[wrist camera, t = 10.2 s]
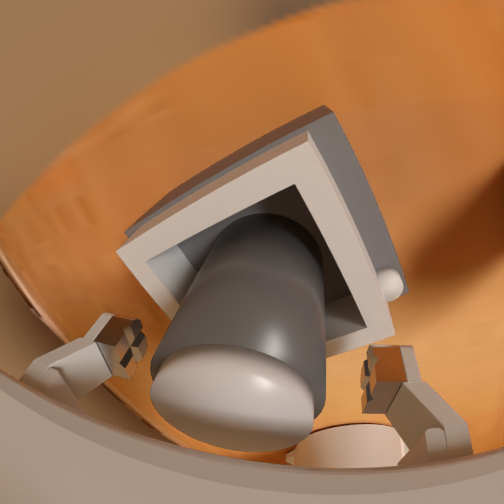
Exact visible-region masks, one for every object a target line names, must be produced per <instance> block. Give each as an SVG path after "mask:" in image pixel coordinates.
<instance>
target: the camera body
mask: <svg viewBox="0 0 504 504" xmlns="http://www.w3.org/2000/svg"><path fill="white" fill-rule="evenodd" d="M257 213H270V214H277V215H281V216H284V217H287V218H290V219H292V220H294V221H296V222H297V223H299V224H300V225H302V226H303V227H304V228H305V229H307V230H308V231H309V232H310V234H311V235H312V236H313V237H314V239H315V240H316V242H317V243H318V246H319V248H320V251H321V254H322V261H323V277H324V299H325V331H326V358H327V357H331V356H334V355H337V354H340V353H344V352H347V351H350V350H353V349H356V348H359V347H362V346H365V345H368V344H371V343H374V342H377V341H379V340H382V339H385V338H388V337H390V336H393V335H396V334H395V330H394V326H393V323H392V319H391V315H390V311H389V307H388V304H387V302H390V301H393V300H395V299H397V298H398V297H399V296H401V295H404V294H406V293H409V290H408V287H407V283H406V280H405V277H404V274H403V271H402V268H401V265H400V262H399V259H398V256H397V254H396V251H395V248H394V245H393V243H392V240H391V237H390V235H389V232H388V229H387V227H386V224H385V222H384V219H383V217H382V214H381V212H380V209H379V207H378V204H377V202H376V199H375V197H374V195H373V192H372V190H371V188H370V186H369V183H368V181H367V179H366V177H365V174H364V172H363V170H362V168H361V166H360V164H359V161H358V159H357V157H356V155H355V153H354V151H353V149H352V147H351V145H350V143H349V141H348V139H347V137H346V135H345V133H344V131H343V129H342V127H341V125H340V123H339V122H338V120H337V118H336V116H335V114H334V112H333V111H331V110H330V109H329V108H327V107H326V106H325V105H323V106H321V107H319V108H317V109H315V110H313V111H310V112H308V113H306V114H304V115H302V116H300V117H298V118H297V119H295V120H293V121H291V122H289V123H287V124H285V125H283V126H281V127H279V128H277V129H275V130H273V131H272V132H270V133H268V134H266V135H264V136H262V137H261V138H259V139H257V140H255V141H253V142H251V143H250V144H248V145H246V146H244V147H243V148H241V149H239V150H237V151H236V152H234V153H232V154H230V155H229V156H227V157H225V158H224V159H222V160H220V161H218V162H217V163H215V164H213V165H212V166H210V167H209V168H207V169H205V170H204V171H202V172H200V173H199V174H197V175H195V176H194V177H192V178H191V179H189V180H187V181H186V182H184V183H183V184H181V185H180V186H178V187H177V188H175V189H173V190H172V191H170V192H169V193H168V194H167V195H166V196H165V197H163V198H162V199H161V200H160V201H159V202H158V203H156V204H155V205H154V206H153V207H152V208H151V209H150V210H148V211H147V212H146V213H145V214H144V215H143V216H142V217H141V218H139V219H138V220H137V221H136V222H135V223H134V224H133V225H132V226H131V227H130V228H129V229H127V230H126V231H125V234H126V235H127V237H128V238H129V239H127V240H126V241H125V242H124V243H123V244H122V245H121V246H120V247H119V248H118V249H117V250H116V253H117V254H118V255H119V257H120V258H121V259H122V261H123V262H124V263H125V264H126V266H127V267H128V268H129V270H130V271H131V272H132V273H133V275H134V276H135V277H136V279H137V280H138V281H139V282H140V284H141V285H142V286H143V287H144V289H145V290H146V291H147V292H148V293H149V295H150V296H151V297H152V298H153V300H154V301H155V302H156V303H157V304H158V306H159V307H160V308H161V309H162V310H163V311H164V313H165V314H166V315H167V316H168V317H169V318H170V320H171V321H172V320H173V318H174V316H175V314H176V312H177V310H178V309H179V307H180V305H181V303H182V301H183V299H184V297H185V296H186V294H187V292H188V290H189V288H190V286H191V285H192V283H193V281H194V279H195V277H196V276H197V274H198V272H199V270H200V268H201V267H202V265H203V263H204V261H205V259H206V258H207V256H208V254H209V252H210V251H211V249H212V247H213V245H214V243H215V242H216V240H217V238H218V237H219V235H220V234H221V232H222V231H223V230H224V229H225V228H226V227H227V226H228V225H229V224H230V223H232V222H233V221H235V220H237V219H239V218H241V217H244V216H247V215H251V214H257Z"/></svg>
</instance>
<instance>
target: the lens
mask: <svg viewBox="0 0 504 504" xmlns="http://www.w3.org/2000/svg"><path fill="white" fill-rule="evenodd" d="M150 370H151V376H152V379H153V384H152V386H151V389H150V398H151V401H152V404H153V405H154V407H155V409H156V410H157V412H158V413H159V414H160V415H161V416H162V417H163V418H164V419H165V420H166V421H167V422H168V423H169V424H171V425H172V426H173V427H175V428H176V429H178V430H179V431H181V432H183V433H184V434H186V435H188V436H190V437H192V438H195V439H197V440H199V441H202V442H204V443H207V444H210V445H213V446H217V447H221V448H225V449H230V450H236V451H244V452H269V451H277V450H281V449H285V448H289V447H291V446H294V445H296V444H298V443H300V442H302V441H303V440H304V439H305V438H307V437H308V435H309V434H310V433H311V431H312V428H313V420H314V419H315V418H316V417H317V416H318V415H319V414H320V413H321V411H322V409H323V407H324V405H325V400H326V331H325V299H324V277H323V261H322V254H321V251H320V248H319V246H318V243H317V242H316V240H315V239H314V237H313V236H312V235H311V234H310V232H309V231H308V230H307V229H305V228H304V227H303V226H302V225H300V224H299V223H297V222H296V221H294V220H292V219H290V218H287V217H284V216H281V215H277V214H270V213H257V214H251V215H247V216H244V217H241V218H239V219H237V220H235V221H233V222H232V223H230V224H229V225H228V226H227V227H226V228H225V229H224V230H223V231H222V232H221V234H220V235H219V237H218V238H217V240H216V242H215V243H214V245H213V247H212V249H211V251H210V252H209V254H208V256H207V258H206V259H205V261H204V263H203V265H202V267H201V268H200V270H199V272H198V274H197V276H196V277H195V279H194V281H193V283H192V285H191V286H190V288H189V290H188V292H187V294H186V296H185V297H184V299H183V301H182V303H181V305H180V307H179V309H178V310H177V312H176V314H175V316H174V318H173V320H172V322H171V323H170V325H169V327H168V329H167V331H166V333H165V335H164V337H163V339H162V341H161V342H160V344H159V346H158V348H157V350H156V352H155V354H154V356H153V358H152V361H151V367H150Z"/></svg>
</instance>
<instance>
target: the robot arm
mask: <svg viewBox="0 0 504 504" xmlns="http://www.w3.org/2000/svg"><path fill="white" fill-rule="evenodd" d="M141 329H142V324H141V322H140V320H138V319H135V318H131V317H126V316H122V315H118V314H112V313H108V312H105V313H103V314H102V315H101V316H100V317H99V318H98V320H97V321H96V322H95V323H94V325H93V326H92V327H91V328H90V330H89V331H88V332H87V333H86V335H85V336H84V337H83V338H78V339H76V340H74V341H72V342H70V343H68V344H65V345H64V346H61V347H59V348H57V349H55V350H53V351H51V352H49V353H47V354H45V355H43V356H41V357H39V358H37V359H35V360H34V361H33V362H32V364H31V365H30V366H29V368H28V369H27V370H26V371H25V373H24V374H23V375H22V376H21V378H20V379H19V380H18V379H16V378H15V377H13V376H11V375H10V374H8V373H6V372H5V371H3V370H1V369H0V504H504V447H501V448H497V449H493V450H489V451H485V452H481V453H477V454H473V449H472V444H471V439H470V434H469V430H468V425H467V422H466V421H465V420H464V419H463V418H462V417H461V416H460V415H459V414H458V413H457V412H456V411H455V410H454V409H453V408H452V407H451V406H450V405H449V404H448V403H447V402H446V401H445V400H444V399H443V398H442V397H441V396H440V395H439V394H438V393H437V392H436V391H435V390H434V389H433V388H432V387H431V386H430V385H429V384H428V383H427V382H422V380H421V375H420V371H419V367H418V363H417V359H416V355H415V352H414V348H413V346H412V345H398V346H397V345H370V346H369V348H368V351H367V360H365V361H364V363H363V366H362V370H361V379H360V383H361V388H362V389H363V390H364V392H363V395H362V397H361V402H362V413H366V414H385V415H386V417H387V418H388V420H389V421H390V423H391V424H392V426H393V427H390V426H385V425H376V424H358V425H347V426H340V427H334V428H329V429H325V430H321V431H318V432H315V433H313V434H310V435H308V437H307V438H305V439H304V440H303V441H302V442H300V443H298V444H297V446H296V448H295V449H294V450H293V451H291V452H289V453H287V454H286V462H288V463H290V464H292V465H281V464H272V463H264V462H257V461H250V460H243V459H237V458H232V457H226V456H221V455H216V454H211V453H206V452H202V451H198V450H193V449H189V448H185V447H181V446H177V445H174V444H170V443H167V442H163V441H160V440H156V439H153V438H150V437H146V436H143V435H140V434H137V433H134V432H131V431H128V430H126V429H123V428H120V427H117V426H115V425H112V424H109V423H107V422H104V421H102V420H99V419H97V418H94V417H92V416H90V415H87V414H85V413H84V408H83V406H82V405H81V404H80V402H79V401H78V400H79V399H80V398H82V397H83V396H85V395H86V394H87V393H89V392H90V391H91V390H93V389H95V388H96V387H97V386H99V385H100V384H102V383H103V382H105V381H106V380H107V379H109V378H110V377H112V375H114V376H118V377H122V378H125V379H129V380H131V378H132V376H133V375H134V373H135V371H136V369H137V368H138V366H137V362H138V361H140V360H141V359H143V357H144V355H145V353H146V349H147V339H146V336H145V335H144V334H143V333H142V332H141V331H140V330H141Z"/></svg>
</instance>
